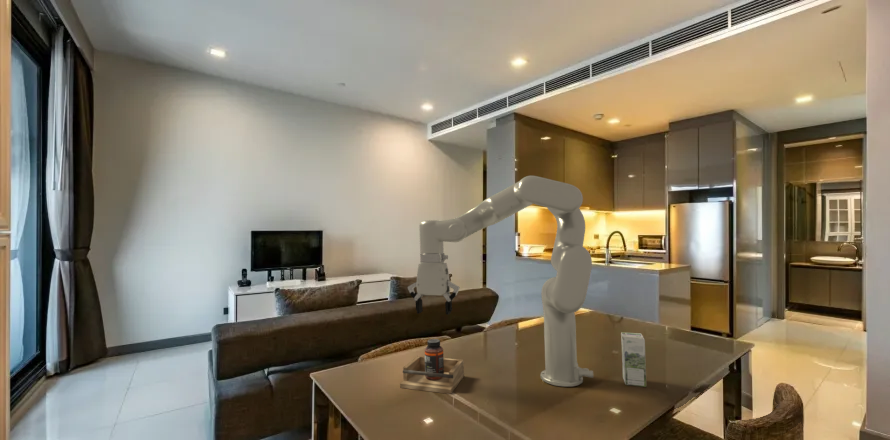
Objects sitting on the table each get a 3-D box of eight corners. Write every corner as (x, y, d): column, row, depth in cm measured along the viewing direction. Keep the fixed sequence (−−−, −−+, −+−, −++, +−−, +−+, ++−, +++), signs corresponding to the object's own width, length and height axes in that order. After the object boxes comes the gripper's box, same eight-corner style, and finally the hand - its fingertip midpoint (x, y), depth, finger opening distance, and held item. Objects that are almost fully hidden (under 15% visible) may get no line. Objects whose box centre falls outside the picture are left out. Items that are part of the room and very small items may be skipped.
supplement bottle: (444, 373, 116) (444, 338, 117) (442, 381, 110) (442, 343, 111) (426, 373, 117) (426, 337, 117) (423, 380, 111) (423, 343, 111)
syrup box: (643, 380, 111) (641, 332, 112) (647, 387, 106) (644, 337, 106) (622, 378, 113) (620, 331, 114) (625, 385, 108) (623, 336, 108)
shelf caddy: (463, 376, 117) (463, 359, 117) (450, 393, 104) (450, 375, 104) (418, 371, 122) (417, 355, 122) (400, 387, 109) (399, 369, 109)
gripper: (461, 257, 116) (463, 311, 116) (412, 258, 122) (413, 310, 121) (454, 259, 109) (456, 316, 108) (402, 260, 115) (404, 314, 114)
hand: (433, 313), depth 115 cm, fingers open, 9 cm apart
